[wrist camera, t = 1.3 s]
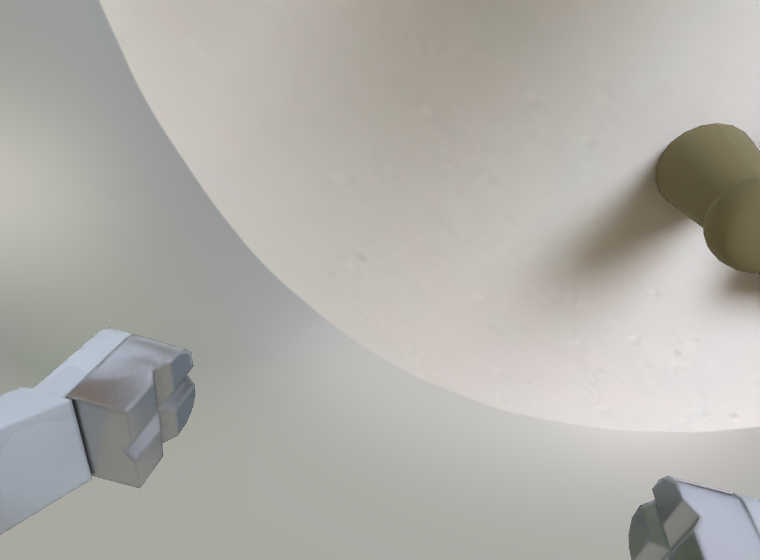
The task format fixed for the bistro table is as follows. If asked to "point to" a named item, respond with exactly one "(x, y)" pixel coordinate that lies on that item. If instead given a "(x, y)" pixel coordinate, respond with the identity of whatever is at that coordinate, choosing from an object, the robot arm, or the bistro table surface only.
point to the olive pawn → (717, 190)
